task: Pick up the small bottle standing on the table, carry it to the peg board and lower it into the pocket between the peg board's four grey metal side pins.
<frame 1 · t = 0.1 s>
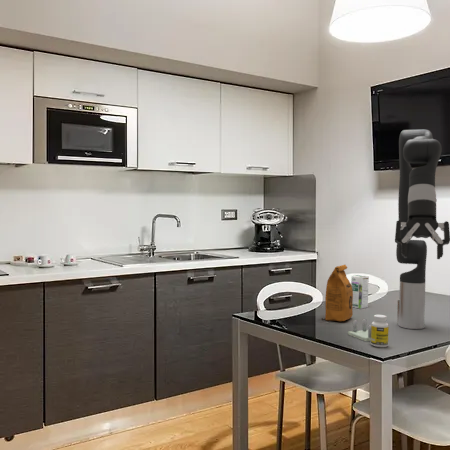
hand: (421, 257, 140), 31 cm above the table, fingers open, 8 cm apart
peg board: (367, 336, 179), on the table
syrup box: (359, 307, 233), on the table
coffee package: (339, 320, 206), on the table
supplement bottle: (379, 345, 167), on the table
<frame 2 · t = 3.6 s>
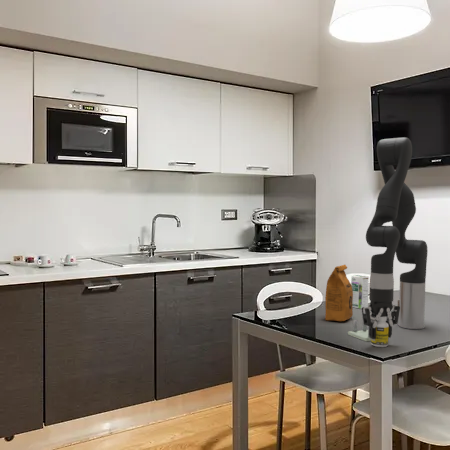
hand: (380, 337, 167), 3 cm above the table, fingers closed on supplement bottle, 5 cm apart
supplement bottle: (379, 345, 167), on the table, touching gripper
everything else where it was.
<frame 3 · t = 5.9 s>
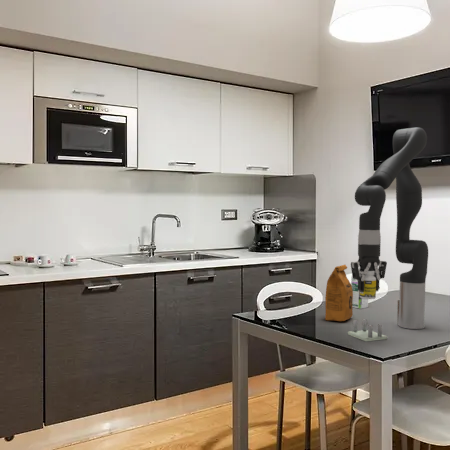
hand: (368, 290, 178), 16 cm above the table, fingers closed on supplement bottle, 5 cm apart
supplement bottle: (367, 298, 178), point 13 cm above the table, touching gripper
everything else where it was.
when the fingers open (5 cm above the table, at t = 8.4 s): supplement bottle drops 1 cm, resting on peg board.
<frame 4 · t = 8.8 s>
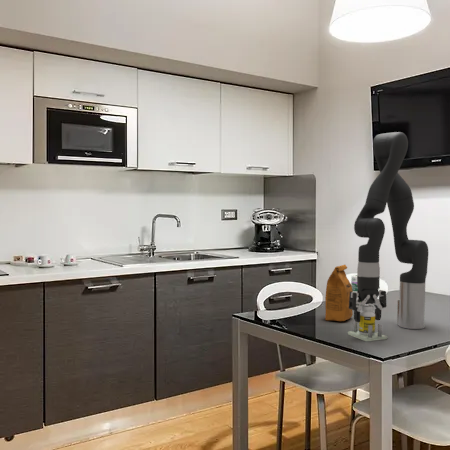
hand: (367, 320, 178), 6 cm above the table, fingers open, 8 cm apart
supplement bottle: (366, 334, 179), point 1 cm above the table, touching peg board
everything else where it was.
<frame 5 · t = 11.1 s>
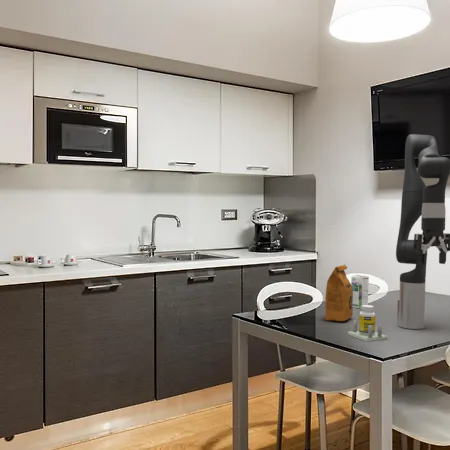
hand: (432, 264, 173), 26 cm above the table, fingers open, 8 cm apart
nothing on the table moved.
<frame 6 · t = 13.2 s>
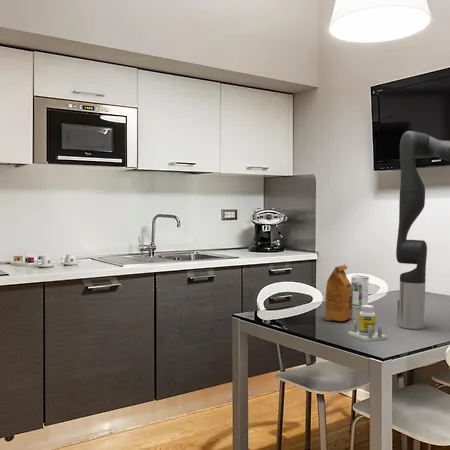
nothing on the table moved.
at the end: supplement bottle 0.4 cm off-centre on the peg board, point 0.8 cm above the peg board's base; supplement bottle tilted 0°; the gripper is holding nothing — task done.
